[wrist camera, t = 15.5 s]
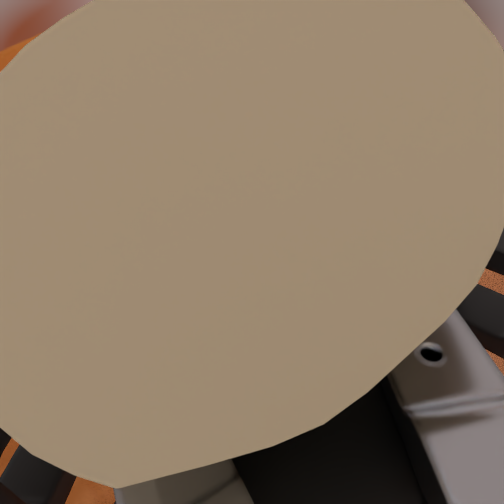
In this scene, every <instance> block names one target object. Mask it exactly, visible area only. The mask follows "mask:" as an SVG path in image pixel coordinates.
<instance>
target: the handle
mask: <svg viewBox="0 0 504 504" xmlns="http://www.w3.org/2000/svg"><path fill="white" fill-rule="evenodd" d="M503 228H504V50H503V48H502V47H501V45H500V44H499V42H498V41H497V39H496V37H495V36H494V34H493V33H492V32H491V31H490V30H489V29H488V28H487V26H486V25H485V24H484V23H483V22H482V20H481V19H480V18H479V17H478V16H477V15H476V14H475V12H474V11H473V10H472V9H471V8H470V7H469V5H468V4H467V3H466V2H465V1H464V0H93V1H91V2H89V3H88V4H86V5H84V6H83V7H81V8H79V9H78V10H76V11H74V12H73V13H71V14H69V15H67V16H66V17H64V18H63V19H61V20H60V21H58V22H57V23H56V24H54V25H53V26H52V27H50V28H49V29H47V30H46V31H45V32H43V33H42V34H40V35H39V36H38V37H36V38H35V39H34V40H32V41H31V42H29V43H28V44H27V45H25V46H24V47H23V49H22V50H21V51H20V52H19V53H18V54H17V55H16V56H15V57H14V58H13V59H12V60H11V62H10V63H9V64H8V65H7V66H6V67H5V68H4V69H3V70H2V71H1V72H0V428H1V429H2V430H4V431H5V432H6V433H7V434H8V435H10V436H11V437H12V438H13V439H14V440H15V441H17V442H18V443H19V444H20V445H21V446H22V447H24V448H25V449H26V450H27V451H28V452H30V453H31V454H32V455H34V456H36V457H38V458H40V459H42V460H44V461H46V462H48V463H50V464H52V465H54V466H56V467H58V468H60V469H62V470H64V471H66V472H69V473H71V474H73V475H75V476H78V477H81V478H84V479H87V480H91V481H94V482H97V483H100V484H103V485H106V486H109V487H112V488H116V489H118V488H122V487H126V486H130V485H134V484H138V483H141V482H145V481H149V480H153V479H157V478H161V477H164V476H168V475H172V474H176V473H180V472H184V471H188V470H191V469H195V468H199V467H203V466H207V465H210V464H214V463H217V462H221V461H224V460H227V459H231V458H234V457H238V456H241V455H245V454H248V453H251V452H255V451H258V450H262V449H265V448H269V447H272V446H275V445H277V444H279V443H281V442H284V441H286V440H288V439H291V438H293V437H295V436H298V435H300V434H302V433H305V432H307V431H309V430H312V429H314V428H316V427H319V426H321V425H323V424H325V423H326V422H328V421H329V420H330V419H332V418H333V417H334V416H336V415H337V414H339V413H340V412H341V411H343V410H344V409H345V408H347V407H348V406H349V405H351V404H352V403H354V402H355V401H356V400H358V399H359V398H360V397H362V396H363V395H365V394H366V393H367V392H368V391H370V390H371V389H372V388H373V387H374V386H375V385H376V384H377V383H378V382H379V381H380V380H382V379H383V378H384V377H385V376H386V375H387V374H388V373H389V372H390V371H391V370H392V369H394V368H395V367H396V366H397V365H398V364H399V363H400V362H401V361H402V360H403V359H404V358H406V357H407V356H408V355H409V354H410V353H411V352H412V351H413V350H414V349H415V348H416V347H418V346H419V345H420V344H421V343H422V342H423V341H424V340H425V339H426V338H427V337H429V336H430V335H431V334H432V333H433V332H434V331H435V330H436V329H437V328H438V327H439V326H441V325H442V324H443V323H444V322H445V321H446V320H447V318H448V317H449V316H450V315H451V314H452V313H453V312H454V310H455V309H456V308H457V307H458V306H459V305H460V303H461V302H462V301H463V300H464V299H465V298H466V297H467V295H468V294H469V293H470V292H471V291H472V290H473V288H474V287H475V286H476V285H477V283H478V281H479V279H480V277H481V275H482V273H483V271H484V270H485V268H486V266H487V264H488V262H489V260H490V258H491V256H492V254H493V252H494V250H495V248H496V246H497V245H498V242H499V239H500V236H501V234H502V231H503Z"/></svg>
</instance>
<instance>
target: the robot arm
mask: <svg viewBox="0 0 504 504" xmlns="http://www.w3.org/2000/svg"><path fill="white" fill-rule="evenodd" d="M486 269H489V270H491V271H494V272H496V273H499V274H501V275H504V228H503V231H502V234H501V236H500V239H499V242H498V245H497V246H496V248H495V250H494V252H493V254H492V256H491V258H490V260H489V262H488V264H487V266H486ZM484 348H485V349H487V350H489V351H490V352H492V353H494V354H496V355H498V356H500V357H501V358H503V359H504V295H502V294H500V293H498V292H495V291H493V290H491V289H488V288H486V287H484V286H481V285H479V284H477V285H476V286H475V287H474V288H473V290H472V291H471V292H470V293H469V294H468V295H467V297H466V298H465V299H464V300H463V301H462V302H461V303H460V305H459V306H458V307H457V308H456V309H455V310H454V312H453V313H452V314H451V315H450V316H449V317H448V318H447V320H446V321H445V322H444V323H443V324H442V325H441V326H439V327H438V328H437V329H436V330H435V331H434V332H433V333H432V334H431V335H430V336H429V337H427V338H426V339H425V340H424V341H423V342H422V343H421V344H420V345H419V346H418V347H416V348H415V349H414V350H413V351H412V352H411V353H410V354H409V355H408V356H407V357H406V358H404V359H403V360H402V361H401V362H400V363H399V364H398V365H397V366H396V367H395V368H394V369H392V370H391V371H390V372H389V373H388V374H387V375H386V376H385V377H384V378H383V379H382V380H380V381H379V382H378V383H377V384H376V385H375V386H374V387H373V388H372V389H371V390H370V391H368V392H367V393H366V394H365V395H363V396H362V397H360V398H359V399H358V400H356V401H355V402H354V403H352V404H351V405H349V406H348V407H347V408H345V409H344V410H343V411H341V412H340V413H339V414H337V415H336V416H334V417H333V418H332V419H330V420H329V421H328V422H326V423H325V424H323V425H321V426H319V427H316V428H314V429H312V430H309V431H307V432H305V433H302V434H300V435H298V436H295V437H293V438H291V439H288V440H286V441H284V442H281V443H279V444H277V445H275V446H272V447H269V448H265V449H262V450H258V451H255V452H251V453H248V454H245V455H241V456H238V457H234V458H231V459H227V460H224V461H221V462H217V463H214V464H210V465H207V466H203V467H199V468H195V469H191V470H188V471H184V472H180V473H176V474H172V475H168V476H164V477H161V478H157V479H153V480H149V481H145V482H141V483H138V484H134V485H130V486H126V487H122V488H118V489H116V488H113V489H114V494H115V499H116V501H115V503H114V504H504V376H503V374H502V373H501V372H500V370H499V369H498V367H497V366H496V364H495V363H494V362H493V360H492V359H491V357H490V356H489V354H488V353H487V352H486V350H485V349H484ZM11 438H12V437H11V436H10V435H8V434H7V433H6V432H5V431H4V430H2V429H1V428H0V457H1V454H2V453H3V451H4V449H5V447H6V446H7V444H8V443H9V441H10V439H11ZM76 477H77V476H75V475H73V474H71V473H69V472H66V471H64V470H62V469H60V468H58V467H56V466H54V465H52V464H50V463H48V462H46V461H44V460H42V459H40V458H38V457H36V456H34V455H32V454H31V453H30V452H28V451H27V450H26V449H25V448H24V447H22V446H21V445H19V446H18V448H17V450H16V451H15V453H14V455H13V457H12V458H11V460H10V462H9V463H8V465H7V467H6V469H5V470H4V472H3V474H2V475H1V477H0V504H65V502H66V500H67V497H68V495H69V493H70V490H71V488H72V486H73V484H74V481H75V479H76Z"/></svg>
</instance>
